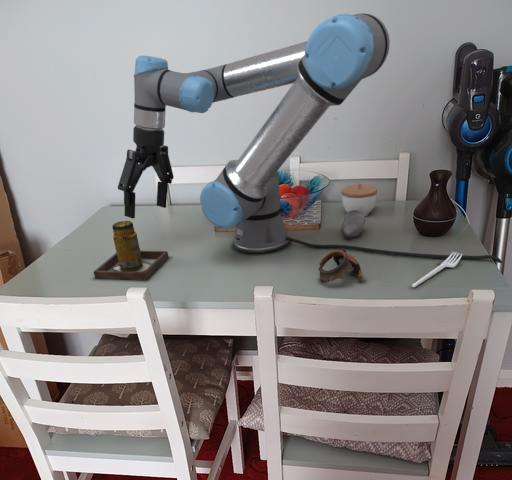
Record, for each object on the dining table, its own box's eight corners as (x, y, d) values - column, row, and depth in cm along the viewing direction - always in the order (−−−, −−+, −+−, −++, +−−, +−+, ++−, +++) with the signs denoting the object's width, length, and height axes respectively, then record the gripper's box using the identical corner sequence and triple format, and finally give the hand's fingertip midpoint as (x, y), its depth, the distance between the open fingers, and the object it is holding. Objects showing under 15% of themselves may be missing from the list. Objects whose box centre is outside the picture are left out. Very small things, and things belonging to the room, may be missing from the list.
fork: (406, 286, 118) (407, 279, 117) (450, 258, 129) (451, 250, 128) (419, 290, 116) (420, 282, 115) (463, 261, 127) (464, 253, 126)
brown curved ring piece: (367, 289, 119) (352, 264, 114) (330, 304, 123) (313, 281, 118) (363, 256, 127) (348, 232, 122) (328, 272, 131) (312, 249, 126)
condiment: (134, 260, 144) (125, 217, 138) (153, 266, 139) (145, 223, 133) (112, 269, 140) (102, 225, 134) (131, 276, 135) (121, 231, 129)
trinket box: (335, 212, 166) (335, 182, 161) (366, 206, 168) (367, 177, 164) (350, 221, 157) (351, 190, 152) (382, 216, 160) (384, 185, 155)
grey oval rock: (334, 234, 141) (342, 204, 140) (341, 235, 154) (348, 208, 152) (357, 239, 140) (366, 209, 138) (362, 241, 153) (370, 213, 151)
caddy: (168, 257, 144) (167, 251, 143) (146, 280, 132) (145, 273, 131) (120, 256, 147) (119, 250, 146) (95, 278, 135) (93, 271, 134)
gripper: (166, 120, 140) (162, 199, 151) (102, 128, 120) (103, 217, 131) (190, 126, 138) (184, 205, 148) (128, 135, 118) (126, 225, 129)
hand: (146, 211), depth 140 cm, fingers open, 13 cm apart
